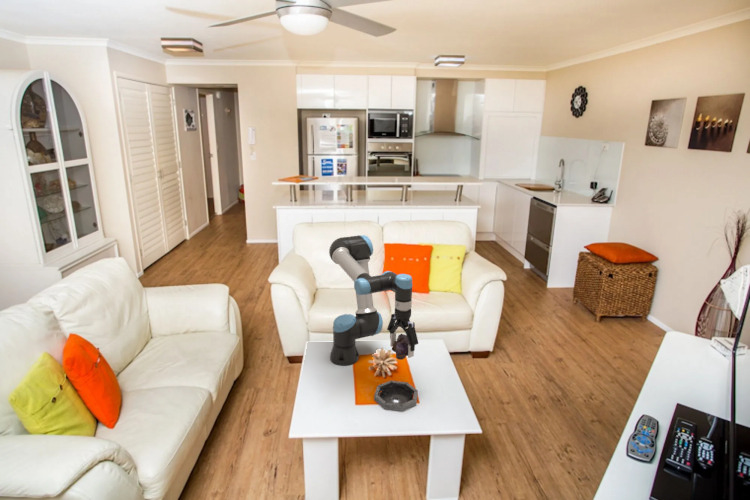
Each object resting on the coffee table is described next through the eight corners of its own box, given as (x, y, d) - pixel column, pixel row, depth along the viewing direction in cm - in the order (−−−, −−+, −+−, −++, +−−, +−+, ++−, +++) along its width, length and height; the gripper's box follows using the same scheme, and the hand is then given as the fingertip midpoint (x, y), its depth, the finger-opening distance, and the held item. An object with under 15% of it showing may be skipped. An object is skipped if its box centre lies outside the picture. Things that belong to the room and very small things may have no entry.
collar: (367, 394, 205) (367, 389, 204) (399, 381, 216) (400, 376, 215) (391, 416, 190) (391, 411, 189) (425, 401, 201) (425, 396, 200)
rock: (392, 362, 201) (414, 362, 202) (392, 347, 198) (415, 346, 198) (391, 346, 212) (412, 346, 212) (391, 331, 208) (412, 331, 209)
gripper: (380, 301, 208) (379, 343, 213) (414, 319, 189) (413, 364, 195) (392, 298, 212) (391, 339, 218) (427, 315, 193) (425, 359, 199)
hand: (401, 351), depth 206 cm, fingers closed on rock, 12 cm apart
